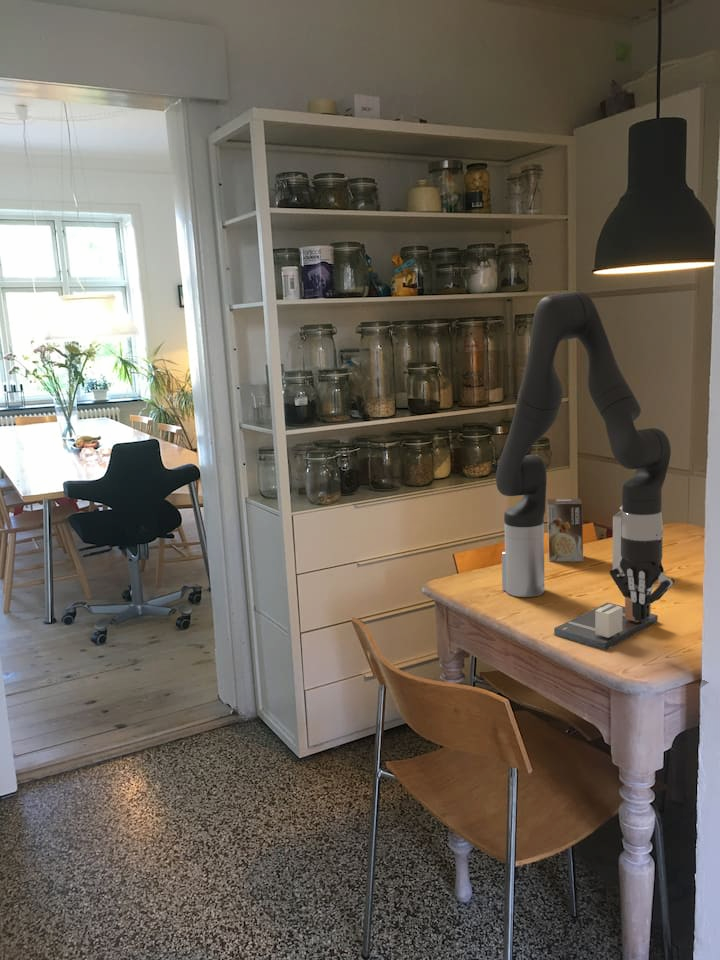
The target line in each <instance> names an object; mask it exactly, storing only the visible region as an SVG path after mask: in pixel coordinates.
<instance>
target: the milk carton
mask: <svg viewBox="0 0 720 960" xmlns="http://www.w3.org/2000/svg"><path fill="white" fill-rule="evenodd" d="M619 509H620V511H618V512H617V513H616V514H615V515H613V516H612V569H615V568H617V567H619V566H620V561H621V560H622V557H621V517H622V505H621V506H620V507H619Z"/></svg>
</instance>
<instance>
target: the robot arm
mask: <svg viewBox="0 0 720 960" xmlns="http://www.w3.org/2000/svg"><path fill="white" fill-rule="evenodd" d="M576 338H577V339H578V340H579V341H580V343H581V344H582V346H583V347H584V349H585V350H586V354H587V357H588V358H587V359H588V372H587V373H588V374H587V386H588V387H587V388H588V392H589V395H590V398H591V399H592V402H593V403H594V405H595V407H596V408H597V410H598V413H599V414H600V416H601V418H602V419H603V421H604V423H605V428H606V429H605V430H606V434H607V437H608V442H609V446H610V450H611V453H612V455H613V457H614V459H615V460H616V461H617V463H619V465H621V466H622V467H623V468H625V469H628V470H635V473H634V475H633V476H632V477H631V478H630V479H627V481H625V482H624V483H623V486H622V493H621V496H622V498H621V506H622V517H621V557H622V560H621V561H620V566H619V567H617V568H615V569H613V568H612V569H611V570H609V573H608V574H609V576H610V577H611V578H612V580H613V582H614V583H615V585H616V586H617V588H618V589H619V591H620V593H621V594H622V597H624V598H625V597H628V598H630V599H631V601H632V615H633V617H635V620H636V621H640V622H644V621H646V620H647V618H649V616H650V603H651V604H653V603H654V602H656V601H659V600H660V599H661V598H663V596H664V595H665V594H666V593H667V591H669V590H670V589H671V587H672V586H673V585H674V584H675V583H676V582H675V579H674V578H672V577H670V578H669V577H668V575H666V574H665V569H664V567H663V564H662V559H663V541H664V540H663V538H664V537H663V534H664V530H663V529H664V528H663V527H664V526H663V525H664V524H663V523H664V522H663V516H662V514H663V513H662V489H663V486H664V482H665V479H666V475H667V473H668V468H669V465H670V461H671V442H670V440H669V437H668V435H667V434H666V433H665V432H664V431H663V430H661V429H659V428H655V427H649V428H643V429H638V430H637V429H636V427H635V423H634V421H635V420H637V419H638V418H639V416H640V415H641V413H642V409H641V406H640V403H639V402H638V399H637V398H636V396H635V394H634V392H633V391H632V389H631V388H630V386H629V384H628V382H627V380H626V379H625V377H624V375H623V373H622V371H621V369H620V367H619V365H618V362H617V360H616V358H615V355H614V353H613V349H612V347H611V344H610V341H609V338H608V335H607V332H606V330H605V328H604V325H603V323H602V320H601V317H600V314H599V312H598V309H597V307H596V305H595V303H594V301H593V299H592V298H591V296H589V294H587V293H586V292H584V291H581V290H579V291H578V290H577V291H575V290H574V291H568V292H562V293H557V294H550V295H546V296H544V297H543V298H541V299H540V301H538V303H537V306H536V307H535V311H534V314H533V320H532V326H531V332H530V340H529V348H528V354H527V359H526V364H525V369H524V372H523V377H522V381H521V385H520V387H519V392H518V395H517V399H516V403H515V408H514V412H513V413H514V414H513V417H512V421H511V424H510V425H511V426H510V429H509V433H508V435H507V438H506V441H505V444H504V447H503V448H502V452H501V454H500V457H499V460H498V463H497V467H496V472H495V483H496V487H497V490H498V492H499V493H500V494H501V495H503V496H506V497H517V496H518V497H519V496H522V498H521V500H519V501H518V502H517V503H515V504H514V505H512V506H510V507H509V508H507V509H506V510H505V511H504V516H503V517H504V519H503V520H504V521H503V523H504V551H503V552H502V553H501V582H502V583H501V585H502V590H501V591H505V592H506V594H508V595H510V596H513V597H517V598H533V597H534V598H535V597H538V596H539V597H540V596H541V595H543V594H545V590H546V588H545V527H544V526H545V525H544V523H545V521H544V520H545V513H546V504H547V502H546V501H547V499H546V497H547V469H546V464H545V462H544V460H543V458H542V457H541V456H540V455H538V454H528V455H527V453H528V452H529V451H530V449H531V448H532V447H533V446H534V445H535V444H536V443H537V442H538V441H539V440H540V439H541V438H543V436H545V434H546V433H547V432H548V431H549V430H550V429H551V427H553V425H554V424H555V421H556V420H557V417H558V414H559V412H560V407H561V405H562V400H563V394H564V393H563V391H564V390H563V387H562V382H561V379H560V377H559V375H558V372H557V370H556V368H555V358H556V352H557V349H558V346H559V344H560V343H561V342H562V341H566V340H571V339H576ZM657 581H658V582H657ZM656 583H657V586H658V587H657V588H655V590H654V585H655V584H656ZM653 590H654V591H653Z"/></svg>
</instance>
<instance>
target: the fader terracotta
mask: <svg viewBox="0 0 720 960" xmlns="http://www.w3.org/2000/svg"><path fill="white" fill-rule="evenodd" d="M651 604H652V603H650V616H651V614H652V612H651V611H652V609H651V608H652V605H651ZM624 607H625V619H628V620H632V621H635V622H639V621H636V620H635V617H633V615H632V601H631V599H630V598H628V597H624Z"/></svg>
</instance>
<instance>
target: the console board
mask: <svg viewBox="0 0 720 960" xmlns="http://www.w3.org/2000/svg"><path fill="white" fill-rule="evenodd" d="M608 604H612V605H616V606H620V607H622V631H620V632H619V633H617V634H615V635H613V636H611V637H609V638H607V637H604V636H601V635H597V634H595V610H597V609H600V608H602V607H604V606H606V605H608ZM658 620H659V619H658V615H657V614H654V613H651V616H649V618H647V620H646V621H644V622H640V621H639V622H635V621H632V620H628V619H625V605H624V606H623V605H620V604H615V603H612V602H605V603H604V604H601V605H599V606H597V607H595V608H593V609H591V610H588V611H587V612H585V613H583V614H580V615H579V616H577V617H574V618H572V619H570V620H568V621H566V622H564V623H561V624H560V625H558V626H556V627H554V629H553V630H554V632H553V635H554V636H557V637H560V638H563V639H566V640H570V641H573V642H576V643H579V644H583V645H586V646H589V647H592V648H596V649H598V650H602V651H606V650H608V649H611V648H613V647H614V646H616V645H618V644H620V643H621V642H623V641H626V640H627V639H629V638H630V637H633V636H634V635H636V634H638V633H640V632H641V631H643V630H645V629H647V628H649V627H651V626H653V625H655V624H656V623H658Z"/></svg>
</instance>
